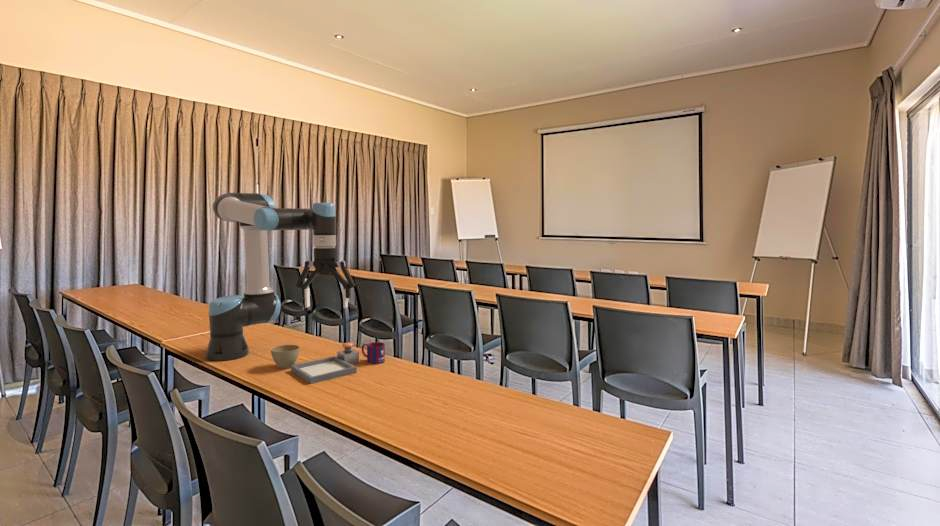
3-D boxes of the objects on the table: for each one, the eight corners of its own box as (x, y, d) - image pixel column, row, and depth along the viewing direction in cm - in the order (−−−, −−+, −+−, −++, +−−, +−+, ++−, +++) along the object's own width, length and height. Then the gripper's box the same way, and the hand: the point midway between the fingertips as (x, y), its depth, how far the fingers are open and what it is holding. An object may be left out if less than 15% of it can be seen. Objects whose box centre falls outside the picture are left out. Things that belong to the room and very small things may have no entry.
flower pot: (290, 372, 166) (289, 352, 165) (265, 370, 168) (264, 351, 167) (305, 363, 176) (305, 345, 175) (281, 361, 178) (281, 343, 177)
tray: (291, 371, 167) (290, 365, 167) (334, 361, 179) (334, 356, 179) (311, 383, 155) (310, 377, 155) (356, 372, 166) (356, 366, 166)
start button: (340, 352, 178) (340, 343, 178) (350, 350, 181) (349, 341, 180) (345, 354, 175) (345, 346, 175) (355, 352, 178) (354, 344, 177)
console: (337, 361, 178) (336, 351, 178) (351, 358, 182) (351, 348, 182) (344, 365, 174) (344, 355, 174) (358, 362, 178) (358, 352, 178)
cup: (376, 365, 174) (376, 347, 174) (357, 360, 180) (357, 343, 179) (388, 360, 180) (388, 343, 179) (369, 356, 185) (369, 339, 185)
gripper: (285, 247, 158) (287, 308, 160) (357, 248, 157) (358, 309, 159) (294, 246, 165) (296, 304, 168) (363, 246, 165) (364, 305, 167)
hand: (326, 307), depth 163 cm, fingers open, 13 cm apart
